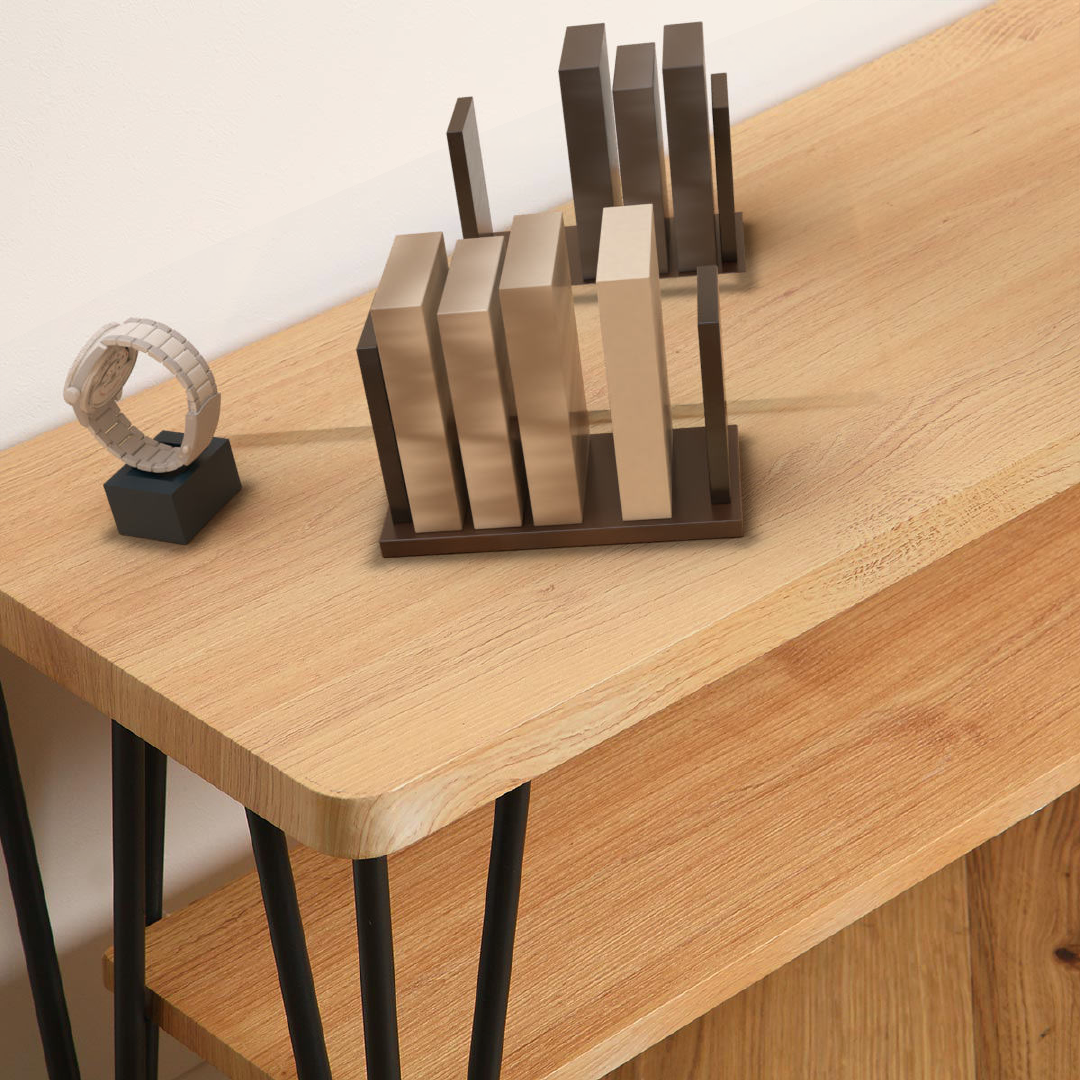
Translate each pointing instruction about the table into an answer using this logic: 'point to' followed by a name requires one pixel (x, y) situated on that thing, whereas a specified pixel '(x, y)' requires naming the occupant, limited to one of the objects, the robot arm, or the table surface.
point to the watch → (171, 457)
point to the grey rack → (629, 152)
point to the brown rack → (517, 405)
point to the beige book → (636, 360)
